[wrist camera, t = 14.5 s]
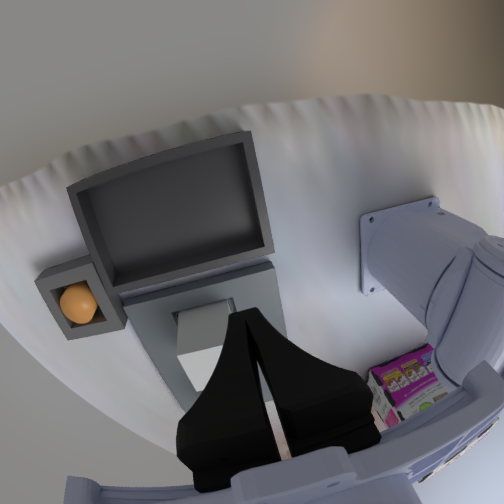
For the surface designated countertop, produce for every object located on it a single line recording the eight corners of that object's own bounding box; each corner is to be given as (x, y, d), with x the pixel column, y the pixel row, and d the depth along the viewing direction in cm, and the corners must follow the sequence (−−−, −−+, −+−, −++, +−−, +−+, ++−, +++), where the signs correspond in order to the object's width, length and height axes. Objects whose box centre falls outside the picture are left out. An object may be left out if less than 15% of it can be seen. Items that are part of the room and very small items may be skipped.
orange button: (90, 274, 20) (82, 287, 18) (105, 305, 21) (99, 319, 19) (62, 283, 20) (53, 295, 18) (78, 312, 21) (71, 326, 19)
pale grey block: (225, 293, 23) (235, 341, 18) (237, 329, 25) (248, 379, 19) (179, 305, 23) (176, 355, 17) (194, 340, 25) (196, 391, 19)
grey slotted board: (270, 261, 23) (274, 268, 22) (293, 385, 29) (296, 392, 28) (125, 299, 22) (122, 307, 21) (189, 410, 28) (189, 418, 27)
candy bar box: (362, 391, 33) (416, 485, 18) (367, 368, 31) (433, 470, 16) (425, 363, 34) (484, 438, 20) (433, 339, 32) (502, 417, 18)
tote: (244, 131, 18) (250, 130, 16) (266, 239, 22) (274, 252, 20) (80, 180, 17) (66, 187, 15) (116, 279, 21) (109, 295, 19)
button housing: (100, 251, 20) (92, 262, 18) (128, 314, 22) (124, 329, 20) (44, 269, 19) (34, 281, 17) (74, 326, 22) (67, 340, 20)
